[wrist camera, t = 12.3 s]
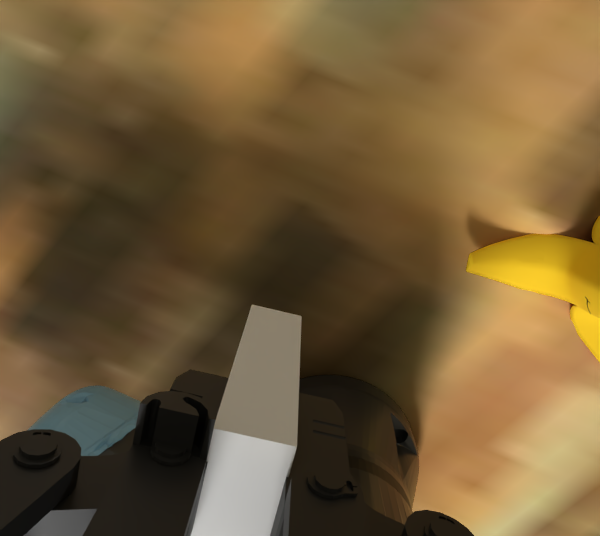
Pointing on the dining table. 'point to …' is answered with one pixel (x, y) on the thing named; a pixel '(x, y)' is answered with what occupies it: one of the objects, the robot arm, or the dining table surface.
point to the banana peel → (550, 273)
